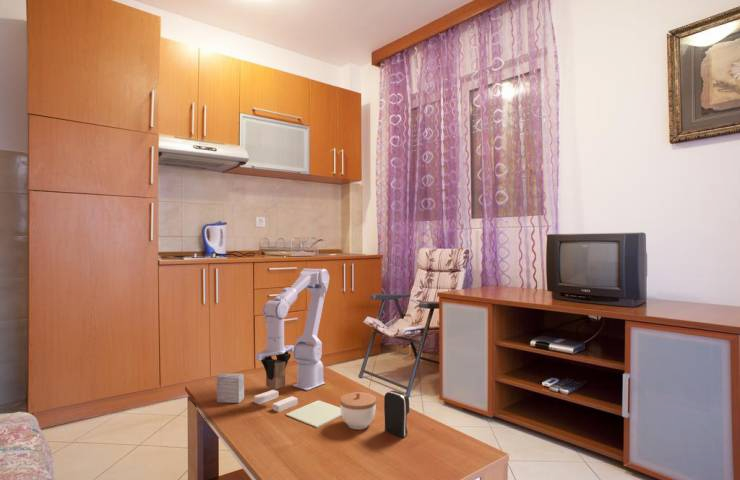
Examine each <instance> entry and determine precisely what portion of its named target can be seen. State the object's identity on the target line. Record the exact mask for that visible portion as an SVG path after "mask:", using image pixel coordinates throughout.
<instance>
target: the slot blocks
mask: <svg viewBox="0 0 740 480" xmlns="http://www.w3.org/2000/svg"><path fill="white" fill-rule="evenodd" d="M279 397H280V396H279V390H277V389H270V390H268V391H265V392H262V393H260V394H256V395H254V396H253V403H255V404H257V405H262V404H265V403H268V402H270V401H273V400H274V399H278V398H279ZM297 405H299V398H298V397H295V396H288V397H287V398H284V399H280V400H277V401H276V402H273V403H272V411H275V412H277V413H280V412H283V411H285V410H287V409H290V408H292V407H295V406H297Z"/></svg>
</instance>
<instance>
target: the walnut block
mask: <svg viewBox="0 0 740 480" xmlns="http://www.w3.org/2000/svg"><path fill="white" fill-rule="evenodd" d="M274 360H276V361H275V364H274V370H273V379H272V380H270V379H268V378H267V374H266V373H265V376H266V377H265V379H266V380H265V387H268V388H271V389H273V390H278V389H280V388H283V387H286V368H285V362H284V361H280V360H277V358H275V359H274Z"/></svg>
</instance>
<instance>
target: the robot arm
mask: <svg viewBox="0 0 740 480" xmlns="http://www.w3.org/2000/svg"><path fill="white" fill-rule="evenodd" d="M329 282H330V274H329V271H328V270H327V269H326V268H307V267H306V268H305V267H304V268H302V271H300V272H299V277H298V278H297V279H296V280H295V281H294V283H292V285H291V286H289V287H284V288H282V291H280V293H278V294H277V296H275V297H274V298H273V299H272V300H271V299H270V300H268V301H266V302H265V303H264V305H263V309H262V315H263V316H264V321H265V323H266V349H265V350H262V351H259V352H257V353H255V360H256V361H260V362H261V364H262V365H263V367H264V370H265V375H266V374H267V378H268V379H270V380H272V379H273V370H274V364H275V361H276V360H280V361H284V362H285V369H286V368H287V365H288V362H289V360H290V359H291V357H293V358H294V360H295V362H296V363H297V382H296V383H293V384H292V386H293V387H295V388H297V389H301V390H305V391H310V390H312V389H314V388H318V387H320V386H323V385H325V384H326V382H325V381H324V364H323V362H322V361H321V358H322V356H323V349H322V347H323V342H322V341H321V340H320V339H319V337H318V333H319V329H320V328H319V327H320V323H321V318H322V313H323V307H324V302H325V297H326V292H328V287H329V284H330V283H329ZM305 289H306V290H307V291H308V292H310V294H311V295H310V299H309V306H308V310H307V315H306V319H305V325H304V329H303V330H304V331H303V333H302V334H301V336H299V337H297V338H296V342H295V345H292V344H288V345H285V318H286V317H287V316H288V312H289V310H290V308H291V307H292V305H293V304H294V303H295V302H296V301H297V300H298V294H300V293H301V292H302V291H303V290H305ZM290 352H291V353H292V356H291V353H290ZM273 357H276V358H275V359H276V360H275V359H274V358H273Z"/></svg>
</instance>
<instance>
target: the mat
mask: <svg viewBox="0 0 740 480" xmlns="http://www.w3.org/2000/svg"><path fill="white" fill-rule="evenodd" d="M285 416H287V417H289V418H292V419H293V420H294V419H295V420H296V421H298V422H301V423H303V424H306V425H310V426H312V427H315V428H316V429H318V428H320V427H322V426H324V425H326V424H328V423H330V422H332V421H334V420H336V419H338V418H340V417H342V415H341V408H340V407H339V406H337V405H334V404H331V403H328V402H325V401H322V400H316V401H313V402H311V403H309V404H308V403H307V404H306V405H304V406H301V407H299V408H296V409H293V410H291V411H290V412H287V413H286V414H285Z"/></svg>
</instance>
